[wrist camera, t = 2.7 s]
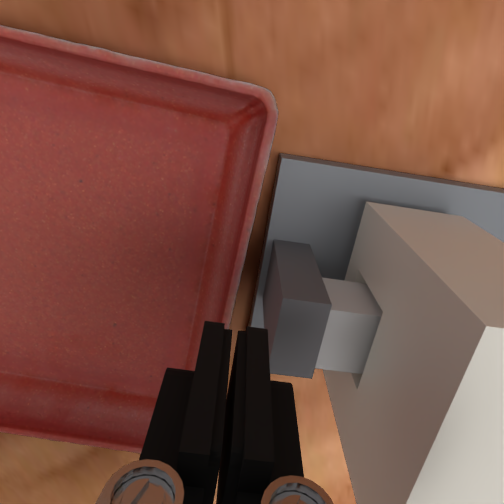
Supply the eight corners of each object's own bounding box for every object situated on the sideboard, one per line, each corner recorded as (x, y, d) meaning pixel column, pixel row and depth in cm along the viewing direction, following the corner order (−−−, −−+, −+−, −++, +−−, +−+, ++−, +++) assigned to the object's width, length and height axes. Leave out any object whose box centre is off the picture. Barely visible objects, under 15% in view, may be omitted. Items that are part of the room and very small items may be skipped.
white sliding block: (403, 374, 19) (513, 586, 11) (321, 364, 19) (374, 574, 11) (462, 216, 16) (675, 352, 8) (366, 201, 16) (486, 326, 8)
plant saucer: (-188, -22, 15) (-298, -47, 12) (279, 88, 17) (285, 90, 14) (-121, 361, 22) (-180, 406, 19) (205, 414, 24) (198, 463, 21)
